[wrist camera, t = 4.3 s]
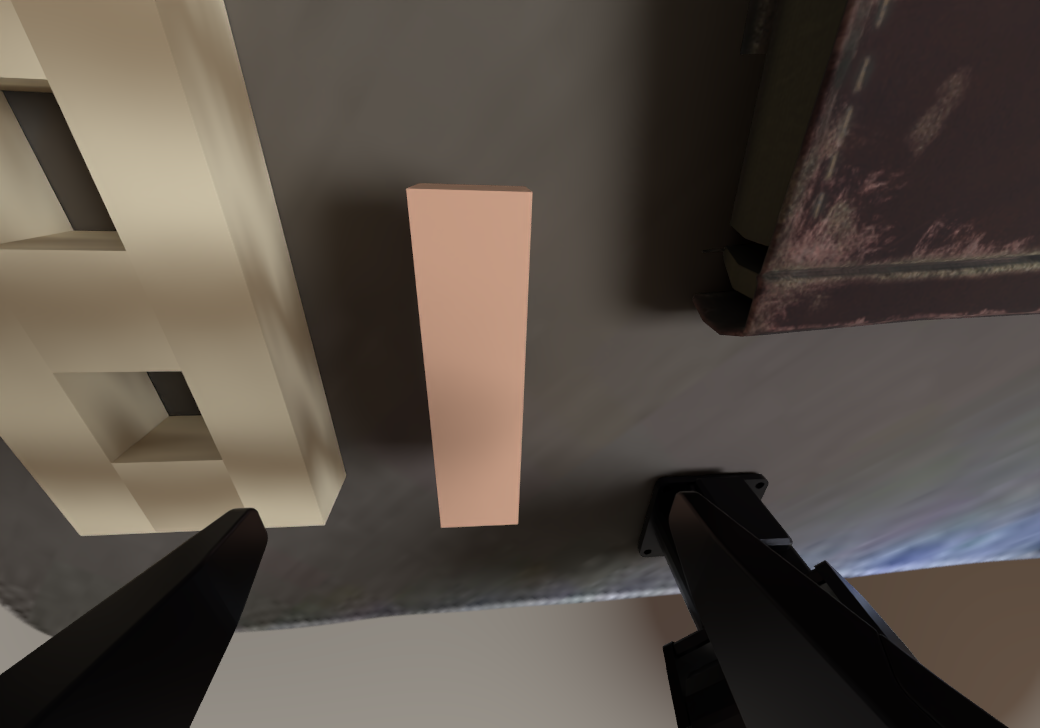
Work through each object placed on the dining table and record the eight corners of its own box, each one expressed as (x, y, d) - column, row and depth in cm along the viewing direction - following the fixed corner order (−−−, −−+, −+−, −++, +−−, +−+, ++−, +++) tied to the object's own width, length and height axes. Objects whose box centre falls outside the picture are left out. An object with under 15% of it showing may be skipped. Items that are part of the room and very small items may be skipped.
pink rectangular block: (511, 441, 19) (518, 524, 15) (451, 442, 19) (441, 528, 15) (517, 180, 14) (532, 192, 9) (432, 177, 13) (406, 188, 9)
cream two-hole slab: (346, 475, 20) (324, 525, 17) (137, 482, 19) (80, 536, 16) (202, -83, 10) (100, -168, 7) (-241, -120, 9) (-536, -232, 6)
